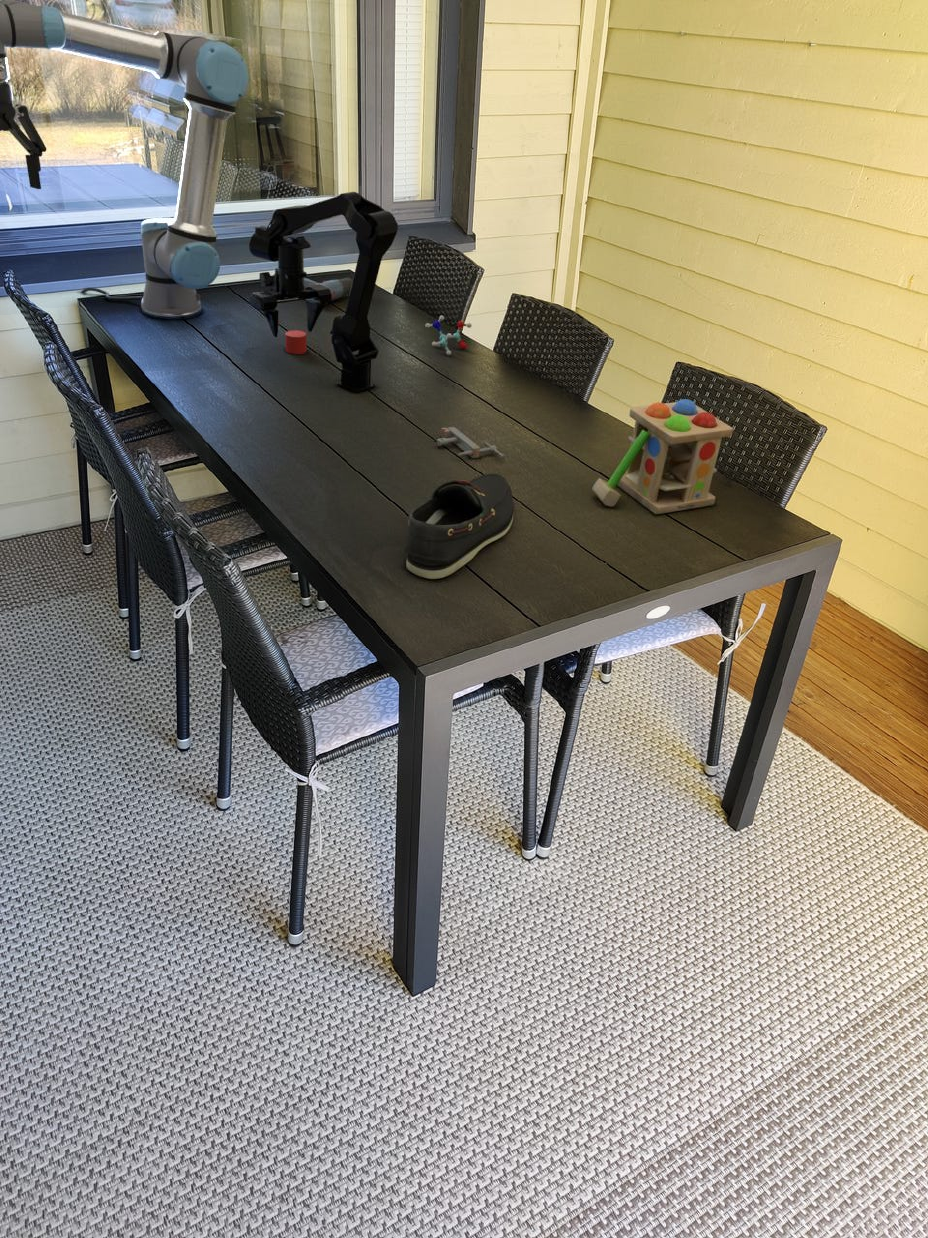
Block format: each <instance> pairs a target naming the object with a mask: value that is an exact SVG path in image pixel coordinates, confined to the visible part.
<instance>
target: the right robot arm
mask: <svg viewBox="0 0 928 1238" xmlns="http://www.w3.org/2000/svg"><path fill="white" fill-rule="evenodd" d="M340 216H343V217H344V218H345V221H346V222H347V225H348V227H349V228H350V229H352V230H353V231H354V232H355V242H356V245H357V248H358V256H357V261H356V265H355V270H354V274H353V277H352V280H353V282H352V286H351V291H350V293H349V295H348V299H347V304H346V307H345V311H344V313H343V314H340V315H337V316H335V317H334V318H333V321H332V328H331V331H330V332H329V334H330V335H331V339H330V340H331V344H332V346H333V351H334V355H335V360H336V362H337V363H339V364H341V368H340V381H338V382H337V383H336V385H337V386H339V387H341V388H343V389H346V390H348V391H350V392H352V393H355V394H357V393H358V394H359V393H361V392H363V391H367V390H371V389H373V388H376V384H375V383H373V382H371V381H372V380H371V379H372V377H371V376H372V360H375V359H377V358H378V354H379V349H378V348H377V347H378V346H376V345H375V343H374V341H373V339H372V338H371V325H370V321H369V318H368V315H369V312H370V308H371V304H372V300H373V296H374V291H375V288H376V284H377V280H378V276H379V271H380V267H381V263H382V260H383V257H384V255H385V254H386V253H388V251H389V249H390V248H391V247H392V245H393V243H394V240H395V238H396V236H397V234H398V229H399V224H398V223H399V222H397V220H396V217H395V216H394V214H393V213H391V212H390V211H388V210H386V209H384V208H383V207H382V206H380V205H379V204H377V203H375V202H372V201H371V200H368V199H366V198H365V197H364V196H363V195H361V194H360V193H359V192H356V191H349V192H343V193H340V194H338V195H337V196H334V197H331V198H327V199H324V200H321V201H318V202H315V203H311V204H309V205H306V204H304V205H303V204H302V205H292V206H287V207H281V208H276V209H274V210H273V211H272V217H271V219H270V221H269V224H267V227H266V226H263V225H260V226H254V227H255V228H254V233H253V234H252V235H251V237H250V240H249V243H248V247H249V252H250V254H251V255H252V256H253V257H256V258H259V259H262V260H266V261H269V262H275V263H277V267H276V268H275V270H274V274H275V275H274V274H273V275H271V272H269V271H264V272H259V279H258V280H259V285H260V287H261V288H267V290H262V291H254V292H251V295H250V296H249V305H250V306H252V307H254V308H255V309H257V310H259V311H261V312H262V313H263V315H264V316H265V318H266V320H267V323H268V326H269V328H270V331H271V333H272V336H273V337H274V338H277V337H278V333H279V310H278V309H277V307H278V304H283V303H290V302H298V301H305V303H306V309H307V314H306V315H307V317H306V319H307V322H306V323H307V324H306V325H307V331H308V332H310V333H312V332H313V330H314V328H315V325H316V323H317V322H318V319H319V317H320V315H321V313H322V311H323V310H324V308H325V307H327V306H328V303H332V302H333V300H332V292H331V290H330V289H329V288H327V287H325V286H323V285H321V284H317V285H309V286H307V287H306V290H304V277H305V278H307V277H308V275H307V272H306V271H305V270H304V269H305V267H304V266H305V263H304V250H305V249H310V248H311V247H312V245H311V243H310V242H309V241H308V240H307V239H306V238H305V235H301V236H297V237H292V236H293V235H299V234H303V233H305V232H307V231H308V230H310V229H311V228H313V227H314V226H315V224H317V223H320V222H323V221H324V222H325V221H327V220H330V219H333V218H338V217H340ZM272 291H273V292H274V293H278V294H273V293H270V292H272Z"/></svg>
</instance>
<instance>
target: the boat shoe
mask: <svg viewBox="0 0 928 1238" xmlns="http://www.w3.org/2000/svg"><path fill="white" fill-rule="evenodd" d="M514 513H515V503H514V497H513V491H512V488H511V486H510V484H509V482H508V480H507V479H506V478H505V477H504V476H503V475H501V474H500V473H495V472H494V473H490V472H489V473H485V474H481V475H479V476H477V477H474V478H472V479H470V480H468V481H467V480H463V479H451V480H448V481H446V482H444V483H442V484H440V485H439V486H437V487H436V488H435V489H434V491H433V492H432V494H431V495H430V497H429V499H427V500H425V501H423V502H422V503H421V504H419V505H417V506H416V507H414V508H413V509H412V510H411V511H410V512H409V515H407V518H406V523H407V524H408V533H407V537H406V544H405V546H404V548H403V549H404V553H406V554H407V555H406V561H405V562H406V564H405V565H406V569H407V570H408V571H409V572H410V573H412V574H414V575H416V576H417V577H421V578H424V579H430V580H436V579H442V578H445V577H448V576H450V575H452V574H453V573H455V572H456V571H458V570H459V569H460V568H462V567H464V566H465V565H467V563H469V562H470V561H472V559H474V557H475V556H476V555H477V554H478V553H479V551H480V550H482V549H483V548H485V546H487V545H489V544H491V543H492V542H493V543H494V541H497V540H499V539H500V538H502V537H504V536H505V535H506V534H507V533H508V532H509V530H510V529H511V527H512V525H513V521H514V515H515V514H514Z"/></svg>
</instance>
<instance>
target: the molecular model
mask: <svg viewBox="0 0 928 1238" xmlns="http://www.w3.org/2000/svg"><path fill="white" fill-rule="evenodd" d="M444 320H445V316H444V315H440V316H439V318H438V320H436V321H434V322H433V323H430V322H429V323H428V322H427V323H425V325H424V326H425V328H426V329H430V327H434V329H437V331H438V333H439V340H438V341H432V342H431V346H432V347H433V348H434V347H436V348H440V347H443V348H445V351H446V352H445V353H446V355H447V356H450V355H452V351H451V350H450V349H449V347H448V344H449V343H448V342H449V339H453V340H455V341H457V343H458V345H459V346H460V349H461V350H466V349H467V343H465V342H464V341H463V340H462V339H461V334H460V332H461V329H463V327H466V328H468V329H471V328H472V323H471V322H468V323H464V322H463V321H461V320H459V321H458V322H457V330H456V332H455V333H453V334H452V333H450V332H449V333H447V334H444V333H443V331H442V330H441V328H440V327H441V322H442V321H444Z"/></svg>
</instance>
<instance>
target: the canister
mask: <svg viewBox="0 0 928 1238" xmlns="http://www.w3.org/2000/svg"><path fill="white" fill-rule="evenodd" d="M284 335H285V337H284V338H285V352H287V353H288V354H292V355H302V354H305V353H307V332H305V331H303V330H297V329H295V330H293V329H292V330H288V331H285V333H284Z"/></svg>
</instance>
